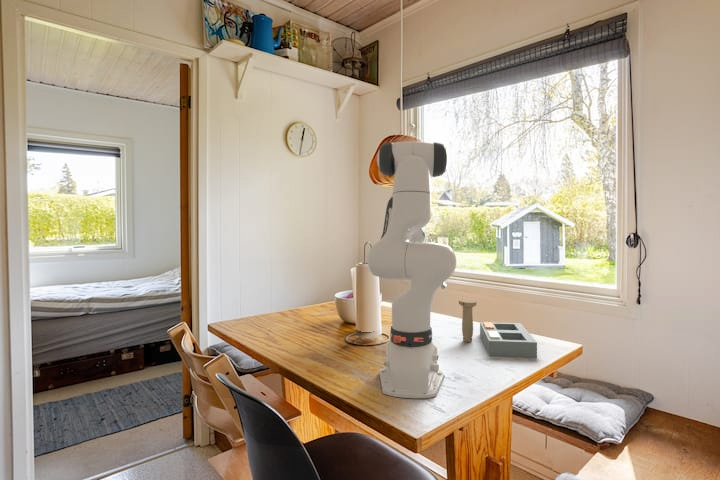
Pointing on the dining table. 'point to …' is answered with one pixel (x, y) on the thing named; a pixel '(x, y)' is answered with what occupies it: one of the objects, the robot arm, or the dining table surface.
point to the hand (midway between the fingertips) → (439, 289)
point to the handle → (467, 319)
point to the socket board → (507, 340)
